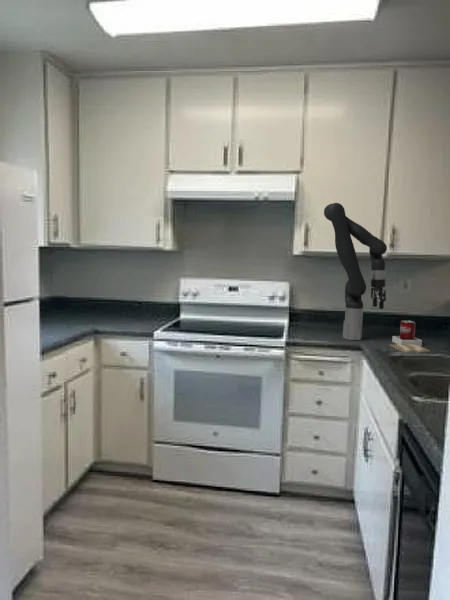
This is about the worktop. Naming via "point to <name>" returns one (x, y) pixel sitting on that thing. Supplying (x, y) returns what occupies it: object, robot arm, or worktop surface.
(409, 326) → the soda can
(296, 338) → the worktop surface
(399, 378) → the worktop surface
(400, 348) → the trivet
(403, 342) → the can collar
